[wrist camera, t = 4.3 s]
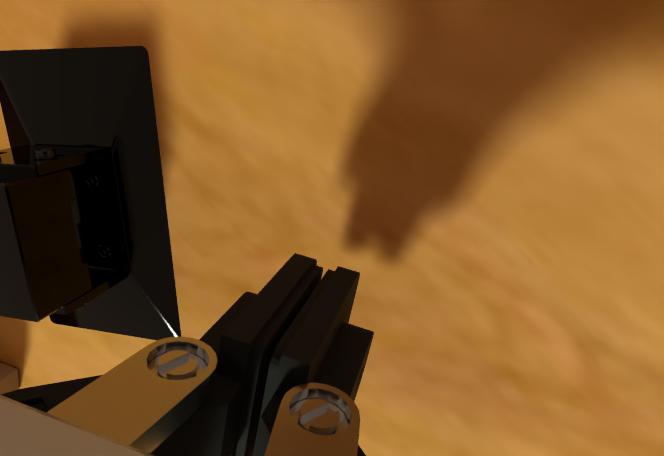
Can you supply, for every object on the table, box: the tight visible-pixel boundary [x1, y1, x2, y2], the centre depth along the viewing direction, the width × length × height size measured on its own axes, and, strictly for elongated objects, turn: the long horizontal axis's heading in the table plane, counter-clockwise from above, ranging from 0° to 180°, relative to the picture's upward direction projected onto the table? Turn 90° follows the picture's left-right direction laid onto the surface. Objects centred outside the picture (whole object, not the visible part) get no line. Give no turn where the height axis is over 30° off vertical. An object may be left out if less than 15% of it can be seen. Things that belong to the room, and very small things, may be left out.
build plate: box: [0, 46, 181, 340], centre depth 14 cm, size 12×7×5 cm, turn 1°
